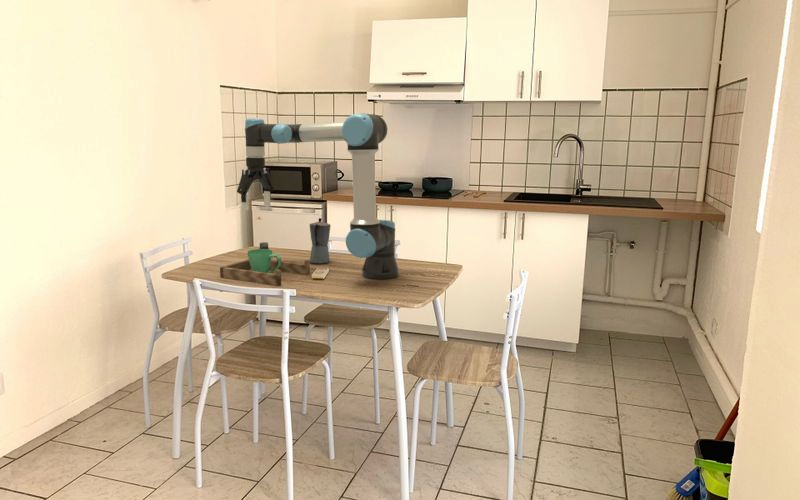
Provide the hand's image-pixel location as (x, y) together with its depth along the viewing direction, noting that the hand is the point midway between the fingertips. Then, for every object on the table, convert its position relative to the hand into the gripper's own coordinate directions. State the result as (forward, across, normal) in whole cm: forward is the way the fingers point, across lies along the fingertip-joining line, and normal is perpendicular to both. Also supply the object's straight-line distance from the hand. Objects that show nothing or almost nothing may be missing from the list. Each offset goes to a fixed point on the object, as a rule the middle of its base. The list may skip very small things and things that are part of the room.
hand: (256, 208), depth 248 cm
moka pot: (+26, -24, +15) cm, 39 cm away
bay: (+26, +5, +10) cm, 28 cm away
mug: (+26, +7, +10) cm, 29 cm away
